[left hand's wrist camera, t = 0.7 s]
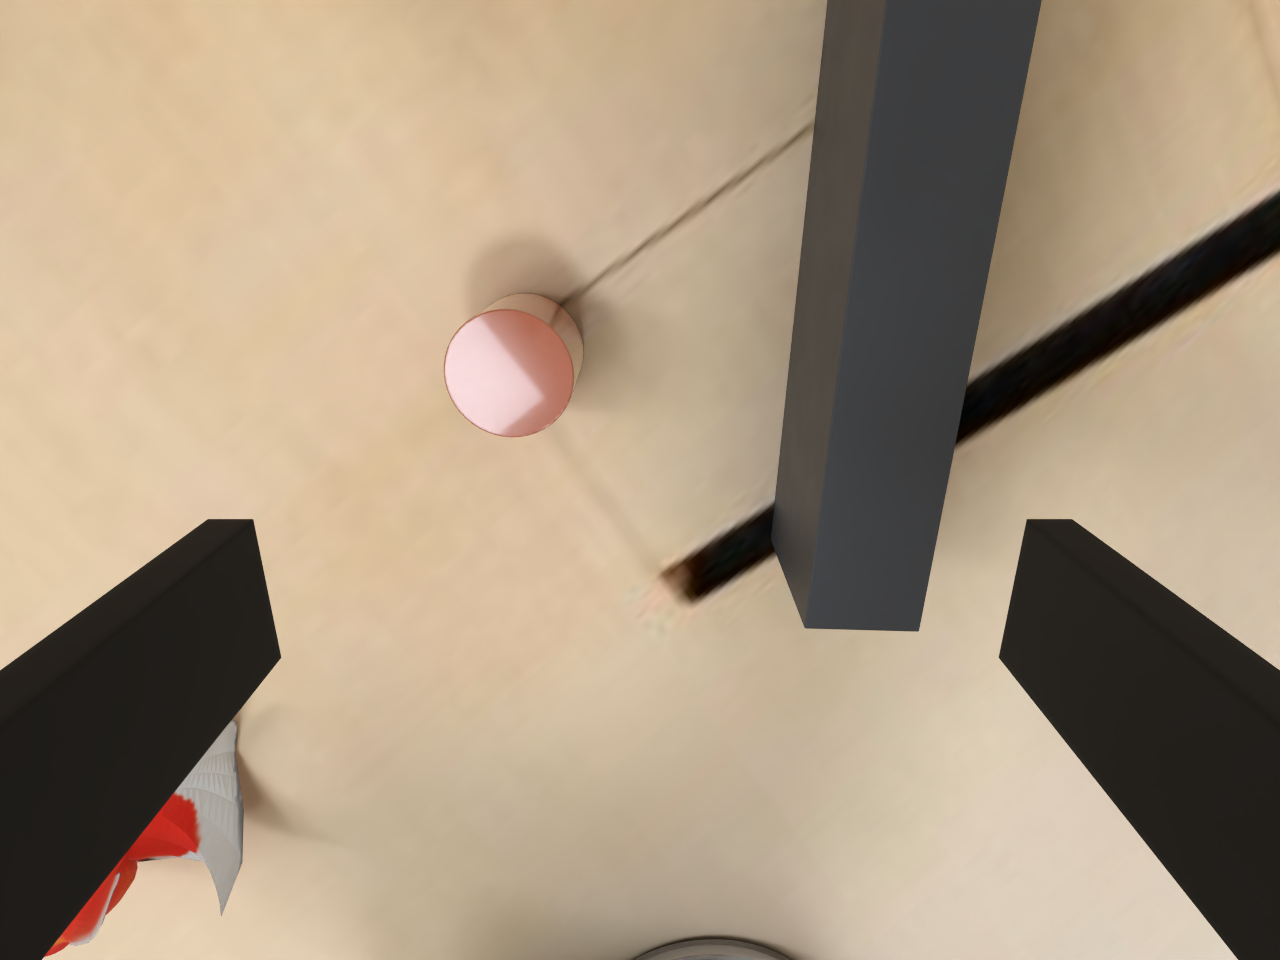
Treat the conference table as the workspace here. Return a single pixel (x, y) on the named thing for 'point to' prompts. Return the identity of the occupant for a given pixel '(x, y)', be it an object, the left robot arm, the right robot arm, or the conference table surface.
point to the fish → (180, 837)
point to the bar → (891, 293)
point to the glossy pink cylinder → (514, 365)
